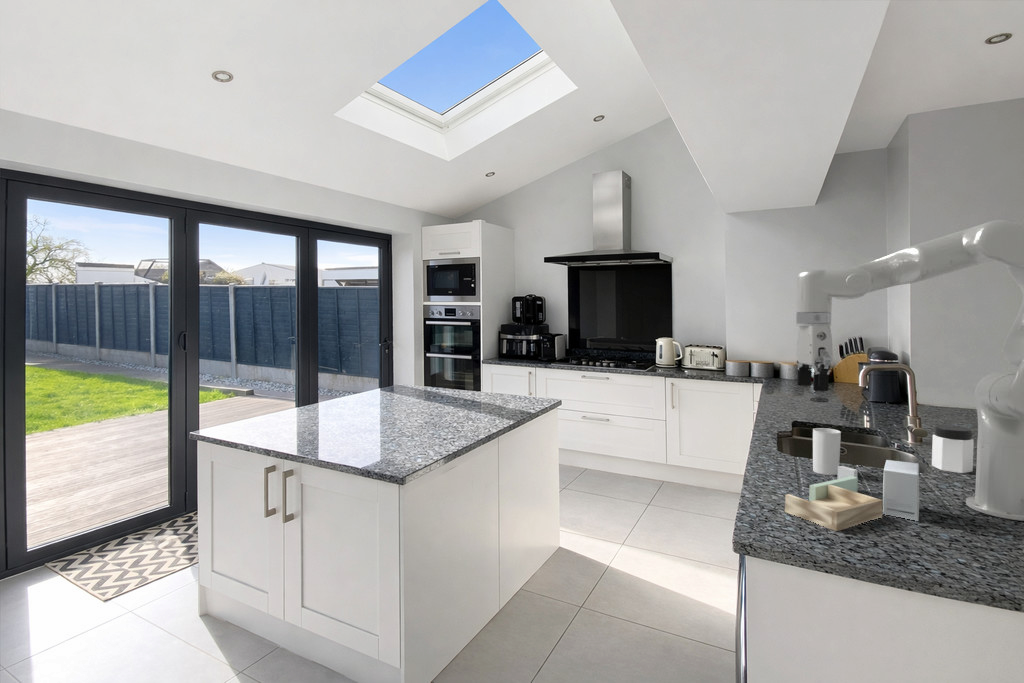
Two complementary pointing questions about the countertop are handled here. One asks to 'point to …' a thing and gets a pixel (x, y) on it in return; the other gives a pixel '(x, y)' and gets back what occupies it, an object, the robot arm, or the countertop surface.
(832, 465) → the mug
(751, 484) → the countertop surface
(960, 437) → the jar
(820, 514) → the wooden tray
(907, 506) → the skincare box
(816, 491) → the gate
